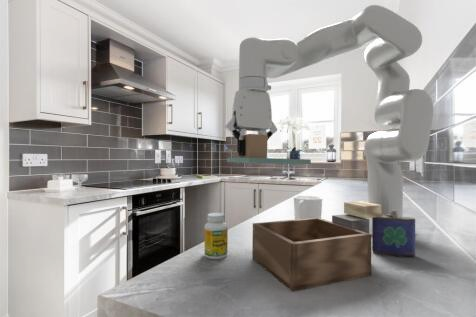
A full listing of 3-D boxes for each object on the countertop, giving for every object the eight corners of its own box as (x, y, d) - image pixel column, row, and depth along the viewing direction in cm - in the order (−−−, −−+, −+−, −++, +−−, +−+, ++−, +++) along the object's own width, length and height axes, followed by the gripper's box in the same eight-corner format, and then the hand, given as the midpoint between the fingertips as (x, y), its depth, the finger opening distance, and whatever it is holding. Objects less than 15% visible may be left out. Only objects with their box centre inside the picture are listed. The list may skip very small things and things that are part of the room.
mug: (300, 224, 93) (300, 194, 93) (325, 228, 88) (326, 197, 88) (286, 231, 85) (286, 198, 85) (313, 236, 79) (314, 201, 79)
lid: (279, 163, 84) (280, 140, 84) (310, 164, 69) (311, 136, 69) (226, 162, 77) (227, 136, 77) (248, 162, 63) (249, 132, 63)
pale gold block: (360, 211, 66) (360, 201, 66) (381, 216, 60) (381, 205, 60) (344, 213, 64) (344, 202, 64) (364, 218, 58) (364, 206, 58)
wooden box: (333, 247, 69) (334, 210, 69) (389, 271, 54) (389, 224, 54) (252, 259, 61) (252, 216, 61) (292, 291, 46) (292, 235, 46)
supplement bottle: (220, 250, 66) (220, 211, 66) (231, 257, 62) (232, 215, 62) (200, 254, 63) (200, 213, 63) (211, 261, 59) (211, 217, 59)
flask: (413, 254, 65) (413, 209, 65) (417, 258, 62) (418, 211, 62) (371, 250, 67) (371, 207, 67) (373, 254, 64) (373, 209, 64)
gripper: (273, 94, 78) (272, 156, 78) (217, 87, 72) (216, 155, 72) (288, 87, 71) (286, 156, 71) (227, 79, 65) (226, 155, 65)
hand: (251, 155), depth 71 cm, fingers closed on lid, 5 cm apart
